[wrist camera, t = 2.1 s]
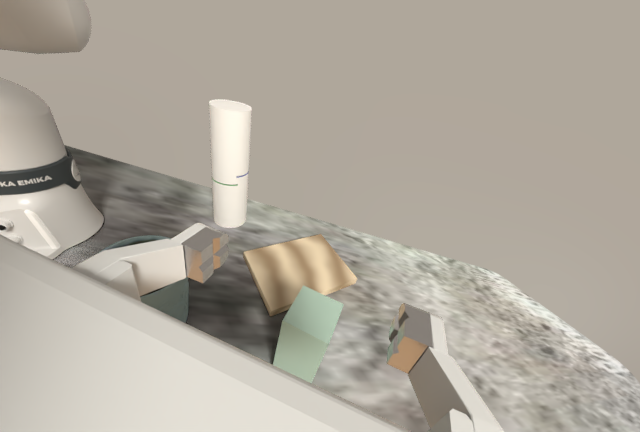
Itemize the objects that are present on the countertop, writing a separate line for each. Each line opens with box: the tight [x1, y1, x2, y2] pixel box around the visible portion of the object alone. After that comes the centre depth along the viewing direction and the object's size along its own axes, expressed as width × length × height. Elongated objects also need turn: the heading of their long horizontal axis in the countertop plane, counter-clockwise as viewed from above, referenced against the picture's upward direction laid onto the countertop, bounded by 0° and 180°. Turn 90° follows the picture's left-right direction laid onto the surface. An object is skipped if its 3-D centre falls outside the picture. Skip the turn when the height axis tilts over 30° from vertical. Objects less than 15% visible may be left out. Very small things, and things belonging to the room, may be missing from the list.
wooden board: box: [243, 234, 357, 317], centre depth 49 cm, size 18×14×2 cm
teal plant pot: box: [97, 235, 189, 323], centre depth 32 cm, size 10×10×12 cm
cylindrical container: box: [209, 99, 252, 228], centre depth 51 cm, size 7×7×25 cm
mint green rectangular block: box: [273, 285, 344, 383], centre depth 32 cm, size 6×6×12 cm
